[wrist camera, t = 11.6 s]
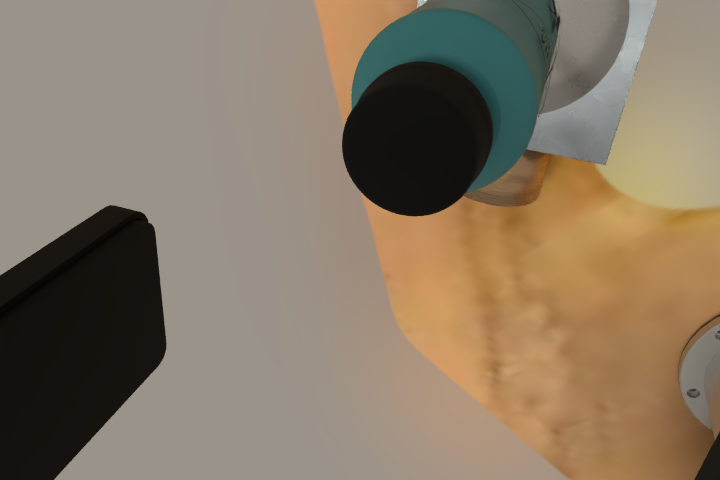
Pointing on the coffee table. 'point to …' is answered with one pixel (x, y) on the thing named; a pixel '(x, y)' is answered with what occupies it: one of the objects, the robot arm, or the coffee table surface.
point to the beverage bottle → (447, 100)
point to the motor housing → (578, 92)
